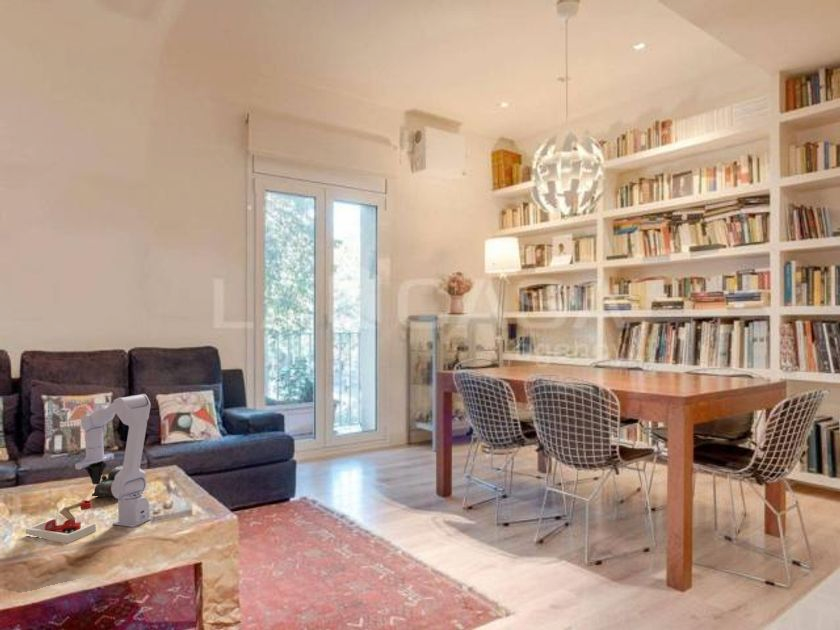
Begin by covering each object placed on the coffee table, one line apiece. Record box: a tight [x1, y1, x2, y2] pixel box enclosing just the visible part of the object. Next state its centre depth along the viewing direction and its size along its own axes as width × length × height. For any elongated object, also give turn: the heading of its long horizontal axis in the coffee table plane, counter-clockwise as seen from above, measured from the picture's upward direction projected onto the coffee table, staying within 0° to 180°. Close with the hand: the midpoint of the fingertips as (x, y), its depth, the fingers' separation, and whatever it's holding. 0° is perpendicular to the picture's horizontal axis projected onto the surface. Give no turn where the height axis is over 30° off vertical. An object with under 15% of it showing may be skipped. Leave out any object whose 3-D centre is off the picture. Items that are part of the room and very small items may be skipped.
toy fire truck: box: [45, 499, 93, 534], centre depth 195 cm, size 3×14×10 cm, turn 110°
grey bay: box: [25, 517, 97, 544], centre depth 193 cm, size 19×10×2 cm, turn 70°
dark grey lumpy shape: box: [91, 465, 123, 498], centre depth 231 cm, size 15×12×14 cm
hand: (96, 483), depth 213 cm, fingers closed
